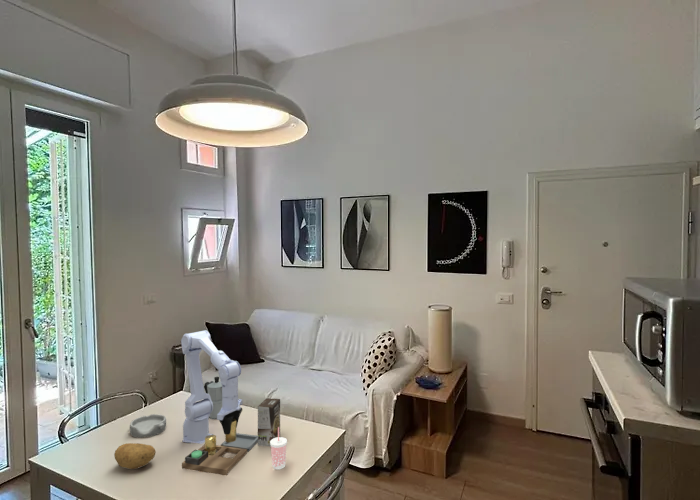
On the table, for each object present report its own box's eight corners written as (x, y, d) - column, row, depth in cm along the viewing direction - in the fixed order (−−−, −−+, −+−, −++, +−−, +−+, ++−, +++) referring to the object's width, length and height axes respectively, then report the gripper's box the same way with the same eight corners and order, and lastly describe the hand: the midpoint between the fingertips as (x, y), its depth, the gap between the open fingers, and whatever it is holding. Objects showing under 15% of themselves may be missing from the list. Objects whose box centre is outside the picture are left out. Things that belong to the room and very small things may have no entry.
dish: (168, 433, 166) (168, 421, 166) (131, 442, 158) (131, 430, 158) (163, 420, 178) (162, 410, 178) (128, 429, 170) (128, 417, 170)
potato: (146, 475, 136) (146, 452, 135) (108, 473, 137) (107, 451, 136) (161, 460, 145) (161, 438, 145) (125, 458, 146) (125, 437, 146)
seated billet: (202, 457, 147) (202, 439, 147) (209, 452, 150) (209, 434, 150) (212, 459, 146) (212, 440, 146) (218, 453, 150) (218, 435, 149)
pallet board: (181, 468, 140) (181, 457, 140) (205, 448, 153) (205, 438, 153) (226, 475, 135) (226, 464, 135) (246, 454, 149) (246, 444, 149)
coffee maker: (233, 414, 184) (233, 376, 183) (218, 422, 176) (218, 382, 176) (212, 407, 191) (212, 371, 191) (197, 414, 184) (196, 376, 184)
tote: (220, 449, 153) (220, 444, 153) (234, 436, 162) (234, 432, 162) (248, 453, 150) (248, 448, 150) (260, 440, 159) (260, 436, 159)
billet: (223, 441, 145) (222, 422, 145) (229, 436, 149) (229, 418, 149) (232, 443, 144) (232, 424, 144) (238, 437, 148) (238, 419, 148)
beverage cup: (279, 459, 145) (279, 421, 145) (290, 465, 142) (290, 426, 141) (266, 466, 141) (266, 428, 141) (277, 472, 137) (277, 433, 137)
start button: (189, 461, 140) (189, 454, 140) (195, 456, 144) (195, 449, 144) (198, 462, 139) (198, 456, 139) (204, 457, 143) (204, 451, 143)
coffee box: (272, 448, 153) (272, 407, 153) (257, 446, 155) (256, 406, 154) (281, 437, 162) (280, 398, 162) (266, 435, 164) (266, 397, 163)
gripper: (229, 403, 139) (229, 441, 139) (249, 388, 153) (249, 423, 153) (211, 401, 140) (212, 439, 140) (233, 387, 154) (233, 421, 155)
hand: (230, 430), depth 147 cm, fingers closed on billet, 4 cm apart
